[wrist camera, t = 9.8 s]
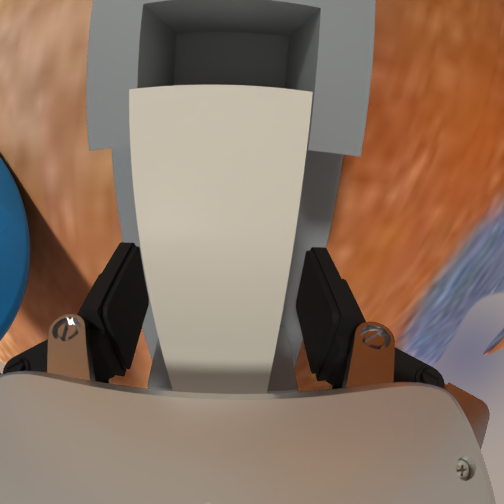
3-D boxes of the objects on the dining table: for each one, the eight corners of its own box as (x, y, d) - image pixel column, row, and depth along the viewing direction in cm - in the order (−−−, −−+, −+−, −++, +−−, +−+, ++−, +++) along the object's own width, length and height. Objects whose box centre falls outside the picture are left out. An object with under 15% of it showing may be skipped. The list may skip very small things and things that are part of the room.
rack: (348, 36, 9) (415, 13, 5) (291, 359, 20) (303, 424, 15) (121, 29, 9) (56, 4, 4) (156, 357, 19) (144, 421, 15)
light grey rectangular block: (267, 91, 10) (312, 91, 4) (247, 342, 17) (254, 447, 11) (191, 89, 10) (129, 89, 4) (199, 341, 17) (191, 445, 11)
